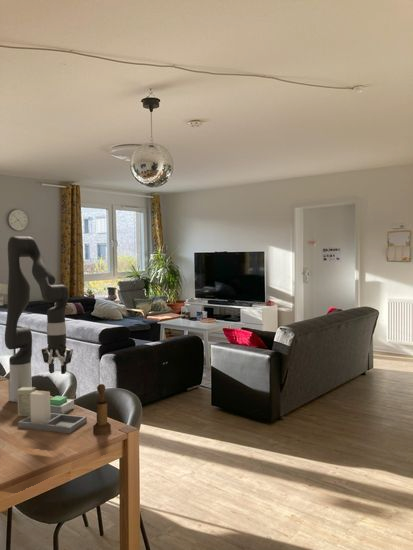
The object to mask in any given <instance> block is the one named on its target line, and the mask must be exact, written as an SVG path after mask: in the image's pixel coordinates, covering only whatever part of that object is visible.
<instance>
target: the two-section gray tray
mask: <svg viewBox="0 0 413 550" xmlns="http://www.w3.org/2000/svg"><path fill="white" fill-rule="evenodd" d="M87 419H88V418H87V416H84V415H83V416H82V415H74V414H66V413H65V414H56V413H51V420H50V421H48V422H46V423H45V424H40V423H31V415H30V416H25V418H23V419H21V420H19V421H17V424H18V425H17V426H18V427H17V428H19V429H27V430H28V429H30V430H38V431H47V432H52V433H53V432H54V433H62V434H71V433H73V432H74V431H76V430H78V429H79V428H80V427H82V426H83V425H84V424H86V423H87V422H88V420H87Z"/></svg>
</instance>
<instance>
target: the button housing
mask: <svg viewBox="0 0 413 550" xmlns="http://www.w3.org/2000/svg"><path fill="white" fill-rule="evenodd" d="M73 409H75V400H74V399H69V398H67V402H65V403H63V404H61V405H55V404H50V412H51V413H56V414H66V413H68V412H70V411H72V410H73Z"/></svg>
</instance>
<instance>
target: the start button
mask: <svg viewBox="0 0 413 550" xmlns="http://www.w3.org/2000/svg"><path fill="white" fill-rule="evenodd" d="M67 399H68V396H62V395H55V396H53V397H52V398H51V397H50V404H55V405H61V404H63V403H65V402H67Z"/></svg>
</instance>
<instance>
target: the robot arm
mask: <svg viewBox="0 0 413 550" xmlns="http://www.w3.org/2000/svg"><path fill="white" fill-rule="evenodd" d="M43 257H44V256H43V255H42V253H41V251H40V248H39V246H38V244H37V242H36V240H35V239H34V238H33V237H32V236H18V235H17V236H16V235H15V236H10V238H9V239H8V242H7V261H8V262H7V263H8V266H7V267H8V277H7V278H8V280H7V309H6V313H7V314H6V320H5V322H6V323H5V327H4V328H5V329H4V344H5V347H6V349H8V350H16V349H17V350H18V351H17V352H16V353H14V354H13V355H11V356H10V357H9V361H8V363H9V379H8V380H7V389H8V401H10V402H11V403H12V402H13V403H18V402H17V390H18V389H20V388H22V387H33V383H32V380H33V379H32V355H33V334H32V331H31V329H30V328H29V327H27V326H24V327H23V326H21V327H18V322H19V319H20V317H21V315H22V314H23V313H24V312H25V311H24V310H25V309H26V308H27V306H28V305H29V302H30V295H31V293H30V292H31V285H30V283H29V281H28V279H27V278H26V276H25V275H24V273H23V271H22V269H21V264H20V263H21V262H20V259H21V258H30V259H31V260H32V267H31V273H32V276H33V279H34V280H35V281H36V283H37V284H38V285H39V289H40V293H41V297H42V299H43V300H44V301H45V302H47V303H55V305H54V306H52V307H50V308H48V309H47V310H46V321H47V323H46V342H47V343H46V344H47V347H43V348H41V350H40V351H41V354H42V359H43V363H45V364H47V365H48V372H49V374H54V373H55V359H56V358H58V360H59V362H60V364H61V365H60V373H61V374H62V375H64V374H66V373H67V371H68V369H67V365H68V364H71V362H72V358H73V352H74V350H73V349H72V348H70V349H69V348H67V346H66V345H67V326H66V308H67V304H68V300H69V295H70V292H69V289H68V287H67V285H65V284H55V283H56V277H55V275H54V274H53V273H52V271H51V270H50V269H49V267H48V266H47V264H46V262H45V260H44V258H43Z"/></svg>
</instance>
